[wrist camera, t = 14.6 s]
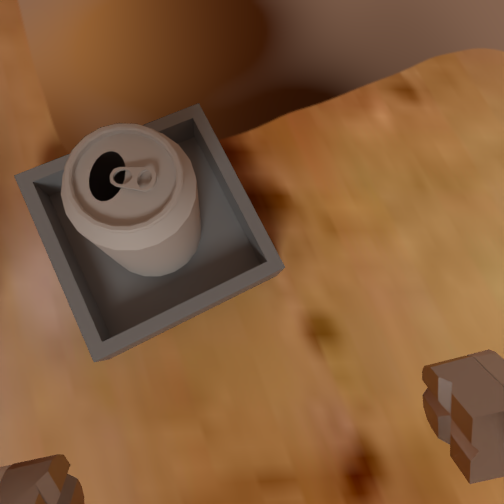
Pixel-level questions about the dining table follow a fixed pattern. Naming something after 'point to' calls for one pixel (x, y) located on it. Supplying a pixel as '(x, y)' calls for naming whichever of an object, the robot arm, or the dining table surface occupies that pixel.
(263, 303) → the dining table surface
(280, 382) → the dining table surface
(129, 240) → the can
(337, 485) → the dining table surface
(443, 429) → the robot arm
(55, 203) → the tray
